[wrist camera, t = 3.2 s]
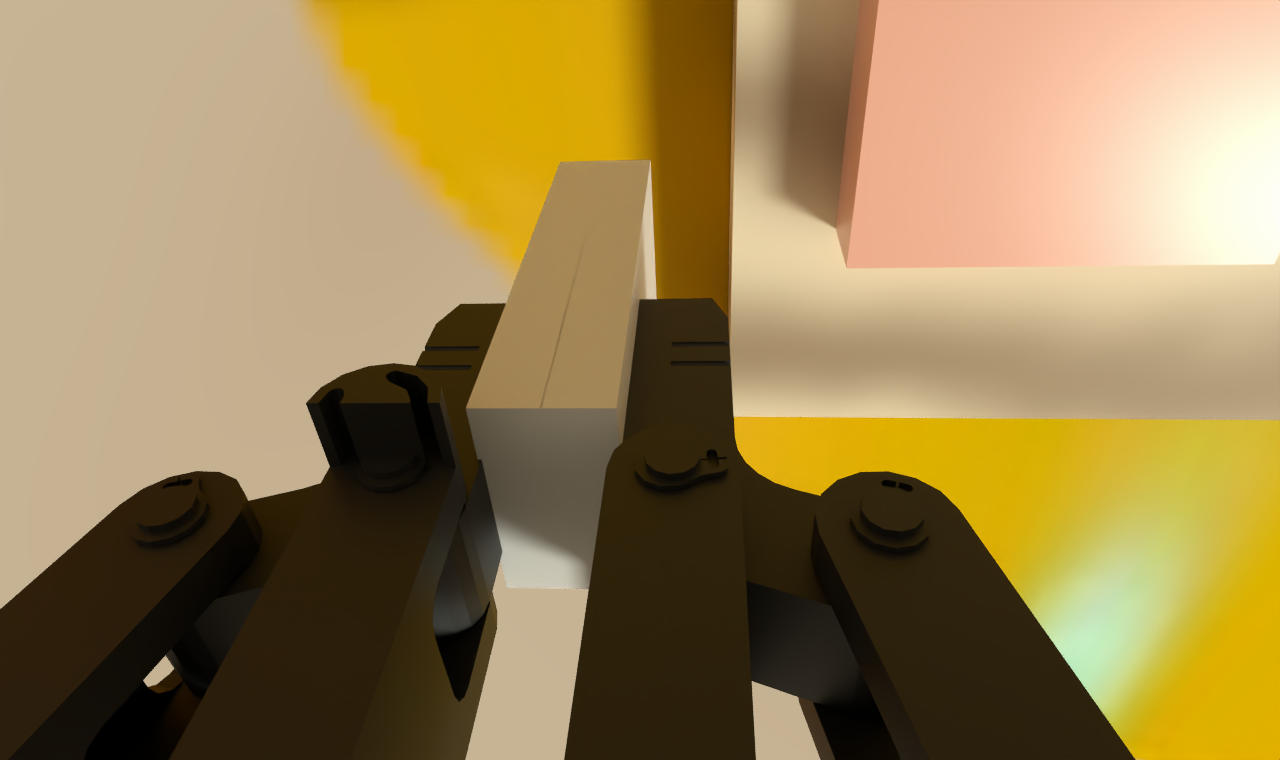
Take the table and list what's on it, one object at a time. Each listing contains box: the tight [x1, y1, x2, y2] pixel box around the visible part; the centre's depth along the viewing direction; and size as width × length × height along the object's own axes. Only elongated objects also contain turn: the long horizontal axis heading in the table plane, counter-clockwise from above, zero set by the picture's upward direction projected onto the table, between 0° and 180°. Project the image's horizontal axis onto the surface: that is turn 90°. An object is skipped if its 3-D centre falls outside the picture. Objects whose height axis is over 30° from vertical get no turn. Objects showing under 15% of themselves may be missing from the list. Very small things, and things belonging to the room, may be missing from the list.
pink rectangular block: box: [836, 0, 1280, 268], centre depth 16 cm, size 9×6×2 cm, turn 93°
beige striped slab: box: [728, 0, 1280, 420], centre depth 18 cm, size 18×16×3 cm
